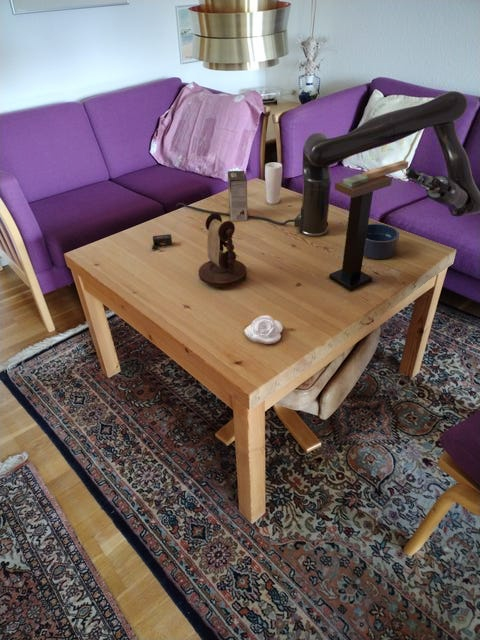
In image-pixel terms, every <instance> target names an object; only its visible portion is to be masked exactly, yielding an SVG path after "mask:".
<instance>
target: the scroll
mask: <svg viewBox="0 0 480 640" xmlns="http://www.w3.org/2000/svg"><path fill="white" fill-rule="evenodd" d="M205 228H206V231H207V258H208V261H206V262H203V264H201V265H200V267H199V268H198V277H199V280H201V282H202V283H205V284H207V285H209V286H214V287H216V288H217V290H220V289H221V287H229V286H233V285H237V284H239V283H241V282H242V281H243V280H245V279H246V277H247V271H248V269H247V266H246V264H244V263H243V262H241V261H240V260H238V259H237V253H236V252H235V251H234V250H235V246H234V244H233V243H234V241H233V237H234V236H233V235H234V233H235V230H236V226H235V223H234V221H231V220H226V221H223V218H222V215H219V214H218V213H213V214H212V213H210V214H209V215H208V216H207V218H206V220H205ZM225 248H226V251H224V249H225Z"/></svg>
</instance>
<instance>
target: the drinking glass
mask: <svg viewBox="0 0 480 640" xmlns="http://www.w3.org/2000/svg"><path fill="white" fill-rule="evenodd" d="M264 181H265V182H264V183H265V196H266V197H265V199H266V200H265V201H266V203H267V204H270V205H276V204H279V203H280V200H281V198H280V197H281V190H282V182H283V164H282V163H280V162H268V163H265V165H264Z"/></svg>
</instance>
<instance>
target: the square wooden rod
mask: <svg viewBox="0 0 480 640" xmlns="http://www.w3.org/2000/svg"><path fill="white" fill-rule="evenodd" d="M408 167H409V161H408V160H399V161H397V162H393V163H390V164H386V165H382V166H380V167H376V168H373V169H370V170H366V171H362V173H358V174H356V175H352V176H349V177H346V178H343V179H342V180H343V184H346V185H348V186H350V187H353V186H357V185H360V184H363V183H366V182H368V180H371V179H374V178H378V177H381V176H384V175H385V176H388V175H390V174H393V173H397V172H400V171H403V170H406V169H409V168H408ZM361 174H362V175H361Z"/></svg>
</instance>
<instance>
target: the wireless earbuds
mask: <svg viewBox="0 0 480 640" xmlns="http://www.w3.org/2000/svg"><path fill="white" fill-rule="evenodd" d="M152 243H153V245H152V247H151V250H152V251H154V250H157V249H159V248H161V247H162V248H163V247H164V248H165V247H171V246H173V238H172V234H168V233H167V234H160V235H153V236H152Z"/></svg>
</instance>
